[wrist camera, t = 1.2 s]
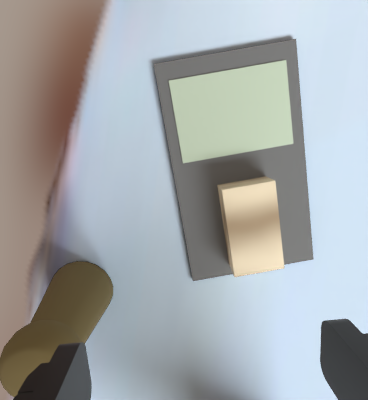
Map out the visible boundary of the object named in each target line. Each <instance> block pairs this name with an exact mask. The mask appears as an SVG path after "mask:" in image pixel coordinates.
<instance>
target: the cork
mask: <svg viewBox="0 0 368 400" xmlns="http://www.w3.org/2000/svg"><path fill="white" fill-rule="evenodd" d="M112 296H113V285H112V282H111V279H110V277H109V276H108V275H107V273H106V272H105V271H104V270H103V269H101V268H100V267H99V266H97V265H95V264H92V263H89V262H81V261H76V262H73V263H69V264H66V265H65V266H63V267H62V268H60V269H59V270H58V271H57V272H56V274H55V275H54V276H53V278H52V280H51V282H50V284H49V286H48V288H47V290H46V292H45V294H44V296H43V299H42V301H41V303H40V305H39V307H38V309H37V311H36V313H35V315H34V317H33V319H32V321H31V323H30V324H28V325H26V326H25V327H23V328H21V329H20V330H19V331H17V332H16V333H15V334H14V335H13V337H12V338H11V339H10V340H9V342H8V343H7V344H6V345H5V346H4V349H3V352H2V354H1V357H0V381H1V383H2V385H3V387H4V389H5V390H6V391H7V392H8V393H9V394H10V395H11V396H13V397H15V396H16V395H17V394H18V391H19V389H20V387H21V386H22V384H23V382H24V381H25V379H26V377H27V376H28V375H29V374H30V373H31V372H32V371H34V370H35V369H36V368H37V367H38V366H39V365H40V364H41V363H49V362H50V360H51V358H52V356H53V354H54V352H55V350H56V349H57V347H58V346H59V345H60V344H69V343H80V342H83V343H84V344H85V342H86V341H87V339H88V337H89V336H90V334H91V333H92V331H93V329H94V328H95V326H96V325H97V323H98V321H99V320H100V318H101V317H102V315H103V313H104V312H105V310H106V308H107V307H108V305H109V304H110V301H111V299H112Z"/></svg>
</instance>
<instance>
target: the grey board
mask: <svg viewBox="0 0 368 400" xmlns="http://www.w3.org/2000/svg"><path fill="white" fill-rule="evenodd" d="M154 69H155V75H156V80H157V86H158V91H159V97H160V102H161V108H162V113H163V119H164V124H165V130H166V135H167V141H168V146H169V152H170V157H171V163H172V168H173V174H174V179H175V185H176V190H177V196H178V201H179V207H180V212H181V218H182V223H183V229H184V234H185V240H186V245H187V251H188V256H189V262H190V267H191V273H192V278H193V281H196V280H202V279H207V278H213V277H218V276H224V275H229V274H233V272H232V270H231V268H230V265H229V260H228V253H227V246H226V240H225V233H224V226H223V220H222V213H221V206H220V199H219V193H218V186H217V185H221V184H226V183H232V182H237V181H243V180H249V179H254V178H260V177H265V176H266V177H268V178H271V179H273V180H275V182H276V191H277V201H278V211H279V220H280V230H281V240H282V249H283V259H284V265H285V264H290V263H296V262H301V261H307V260H312V259H313V249H312V236H311V224H310V211H309V198H308V186H307V173H306V160H305V148H304V135H303V122H302V110H301V97H300V84H299V72H298V59H297V46H296V39H293V40H287V41H281V42H275V43H270V44H264V45H258V46H253V47H247V48H241V49H236V50H230V51H224V52H219V53H213V54H207V55H201V56H196V57H190V58H184V59H179V60H173V61H167V62H162V63H156V64H154Z"/></svg>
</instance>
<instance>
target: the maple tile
mask: <svg viewBox="0 0 368 400" xmlns="http://www.w3.org/2000/svg"><path fill="white" fill-rule="evenodd" d="M217 186H218V193H219V199H220V206H221V213H222V220H223V226H224V233H225V240H226V246H227V253H228V260H229V265H230V268H231V270H232V272H233V274H234V277H238V276H244V275H249V274H255V273H260V272H266V271H272V270H277V269H283V268H284V259H283V249H282V240H281V230H280V220H279V211H278V201H277V191H276V182H275V180H273V179H271V178H268V177H266V176H265V177H260V178H254V179H249V180H243V181H237V182H232V183H226V184H221V185H217Z"/></svg>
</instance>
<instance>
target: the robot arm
mask: <svg viewBox="0 0 368 400" xmlns="http://www.w3.org/2000/svg"><path fill="white" fill-rule="evenodd" d="M320 362H321V368H322V372H323V374H324V377H325V379H326V381H327V383H328V384H329V386H330V387H331V389H332V391H333V392H334V394H335V395H336V397H337V398H338V400H368V334H362V333H361V332H360V331H359V330H358V329H357V328H356V327H355V325H354V324H353V323H352V322H351V321H349V320H348V319H338V320H327V321H323V322H322V325H321V354H320ZM90 398H91V377H90V371H89V365H88V359H87V353H86V347H85V344H84V343H83V342H80V343H69V344H60V345H59V346H58V347H57V349H56V350H55V352H54V354H53V356H52V358H51V360H50V362H49V363H41V364H40V365H39V366H38V367H37V368H36V369H35V370H34V371H32V372H31V373H30V374H29V375H28V376H27V377H26V379H25V381H24V382H23V384H22V386H21V387H20V389H19V391H18V394H17V395H16V396H15V398H14V399H13V400H90Z"/></svg>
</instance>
